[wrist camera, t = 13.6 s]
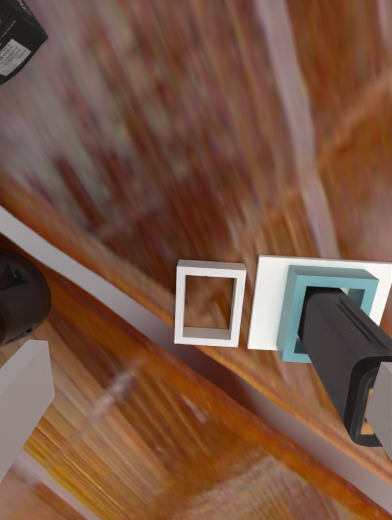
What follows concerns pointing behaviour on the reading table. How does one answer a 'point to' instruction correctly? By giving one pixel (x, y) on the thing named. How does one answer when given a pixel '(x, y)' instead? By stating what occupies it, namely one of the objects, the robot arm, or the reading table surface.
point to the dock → (293, 291)
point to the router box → (17, 36)
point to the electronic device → (344, 355)
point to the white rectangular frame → (232, 334)
